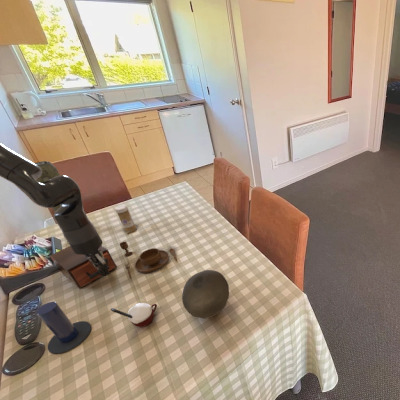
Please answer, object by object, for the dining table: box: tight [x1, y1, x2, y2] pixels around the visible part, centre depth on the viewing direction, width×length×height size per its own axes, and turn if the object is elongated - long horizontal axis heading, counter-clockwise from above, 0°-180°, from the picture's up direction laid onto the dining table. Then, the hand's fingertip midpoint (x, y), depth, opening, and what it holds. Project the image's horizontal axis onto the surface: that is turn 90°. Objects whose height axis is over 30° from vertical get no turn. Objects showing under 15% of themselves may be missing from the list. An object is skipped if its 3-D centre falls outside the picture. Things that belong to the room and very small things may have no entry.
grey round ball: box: [181, 269, 230, 319], centre depth 83 cm, size 14×14×15 cm
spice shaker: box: [35, 301, 78, 343], centre depth 76 cm, size 4×4×13 cm
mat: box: [47, 320, 92, 355], centre depth 79 cm, size 10×10×1 cm
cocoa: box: [110, 302, 158, 328], centre depth 80 cm, size 10×6×12 cm, turn 128°
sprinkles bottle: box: [114, 204, 137, 234], centre depth 121 cm, size 5×5×13 cm
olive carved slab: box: [33, 160, 61, 213], centre depth 115 cm, size 9×12×35 cm
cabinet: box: [49, 244, 117, 290], centre depth 101 cm, size 15×13×9 cm
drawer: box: [70, 252, 117, 288], centre depth 99 cm, size 18×11×7 cm, turn 59°
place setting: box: [119, 241, 178, 279], centre depth 107 cm, size 18×20×6 cm
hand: (105, 274), depth 94 cm, fingers closed
